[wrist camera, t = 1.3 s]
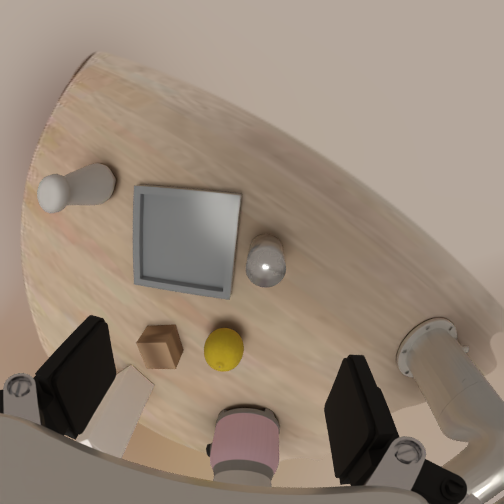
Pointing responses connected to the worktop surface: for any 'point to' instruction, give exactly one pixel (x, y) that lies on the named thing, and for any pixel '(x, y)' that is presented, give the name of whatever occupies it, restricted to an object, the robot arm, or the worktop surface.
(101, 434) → the milk
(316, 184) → the worktop surface
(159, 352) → the walnut block
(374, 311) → the worktop surface
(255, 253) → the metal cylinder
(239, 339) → the lemon
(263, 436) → the blender
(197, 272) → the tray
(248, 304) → the worktop surface
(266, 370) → the worktop surface
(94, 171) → the salt shaker
